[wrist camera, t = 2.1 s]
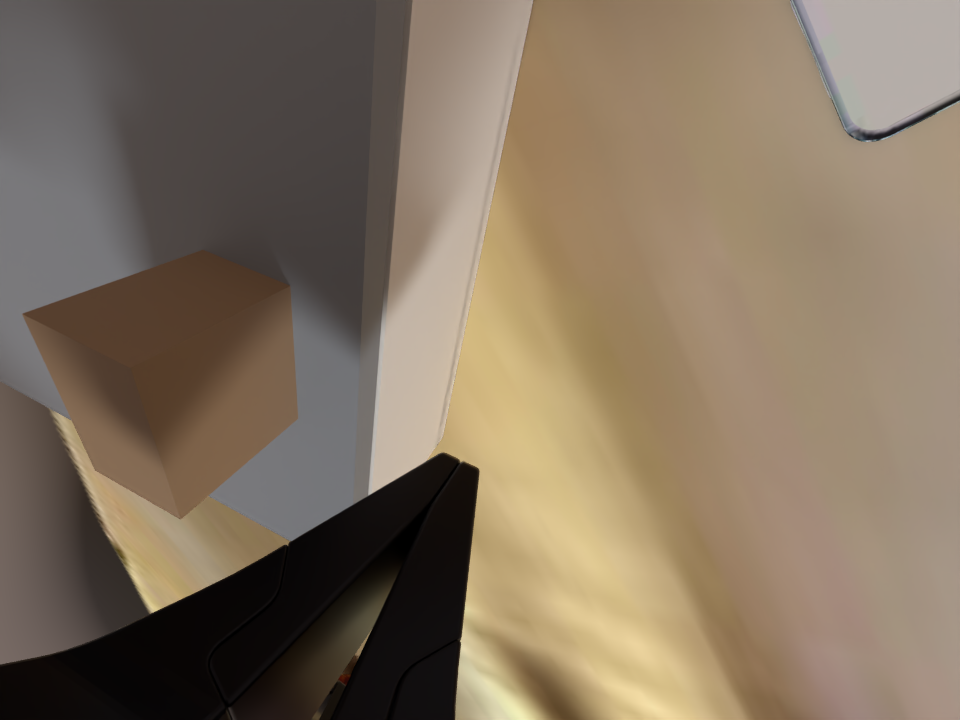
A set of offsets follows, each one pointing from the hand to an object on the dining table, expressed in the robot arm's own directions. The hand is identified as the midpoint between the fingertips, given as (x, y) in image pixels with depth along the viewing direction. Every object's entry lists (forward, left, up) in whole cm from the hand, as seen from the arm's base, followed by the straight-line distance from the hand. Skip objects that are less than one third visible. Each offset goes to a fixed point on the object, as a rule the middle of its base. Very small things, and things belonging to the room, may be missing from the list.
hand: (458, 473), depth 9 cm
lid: (0, +12, -2) cm, 12 cm away
